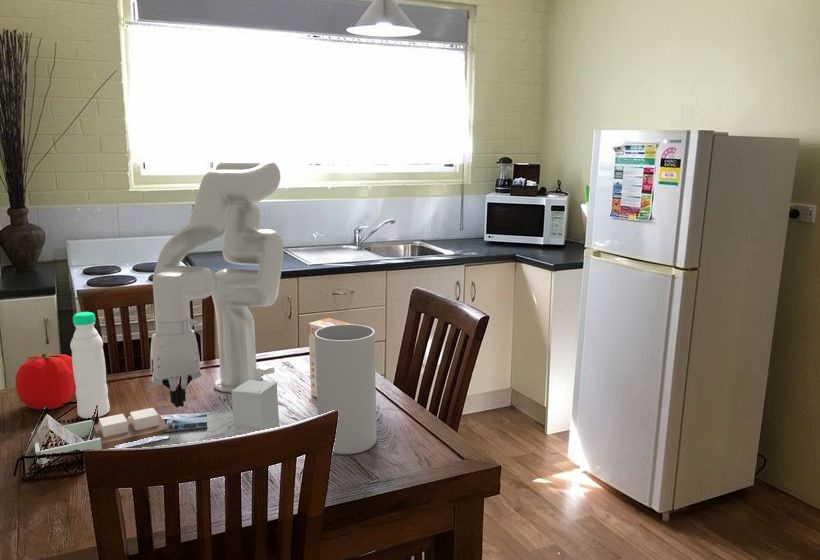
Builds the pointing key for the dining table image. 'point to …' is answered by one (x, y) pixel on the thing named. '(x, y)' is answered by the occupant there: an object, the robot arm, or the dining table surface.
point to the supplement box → (255, 406)
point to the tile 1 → (113, 425)
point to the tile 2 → (144, 418)
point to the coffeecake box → (312, 329)
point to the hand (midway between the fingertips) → (178, 405)
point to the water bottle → (89, 367)
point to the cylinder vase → (348, 383)
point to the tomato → (45, 381)
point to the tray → (79, 430)
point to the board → (130, 434)
